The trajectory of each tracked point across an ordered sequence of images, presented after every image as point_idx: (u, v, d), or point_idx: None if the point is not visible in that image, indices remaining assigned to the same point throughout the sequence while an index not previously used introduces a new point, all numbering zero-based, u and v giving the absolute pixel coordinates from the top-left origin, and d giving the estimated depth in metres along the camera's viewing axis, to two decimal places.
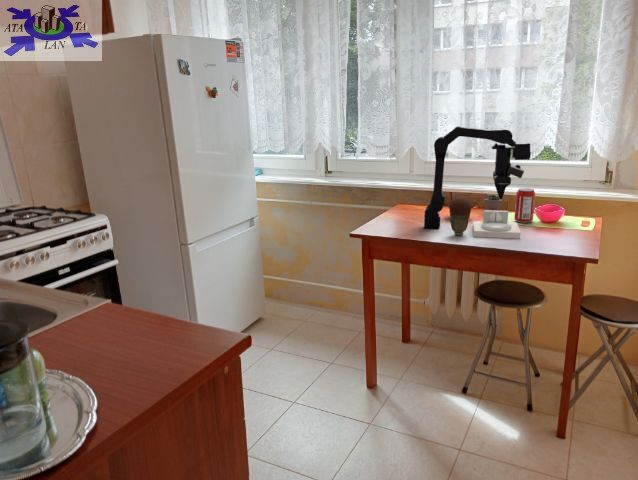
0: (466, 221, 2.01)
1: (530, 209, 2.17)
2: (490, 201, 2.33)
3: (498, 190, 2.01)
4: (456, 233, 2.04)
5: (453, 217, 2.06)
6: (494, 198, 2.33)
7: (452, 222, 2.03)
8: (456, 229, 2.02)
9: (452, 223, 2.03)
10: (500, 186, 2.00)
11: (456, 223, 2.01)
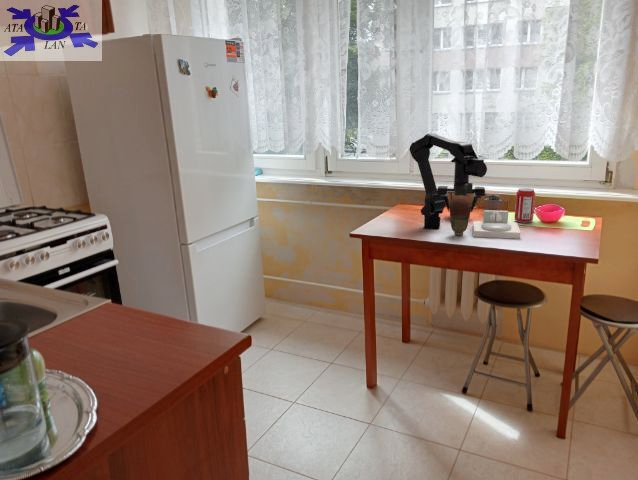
0: (466, 221, 2.01)
1: (530, 209, 2.17)
2: (490, 201, 2.33)
3: None
4: (456, 233, 2.04)
5: (453, 217, 2.06)
6: (494, 198, 2.33)
7: (452, 222, 2.03)
8: (456, 229, 2.02)
9: (452, 223, 2.03)
10: None
11: (456, 223, 2.01)
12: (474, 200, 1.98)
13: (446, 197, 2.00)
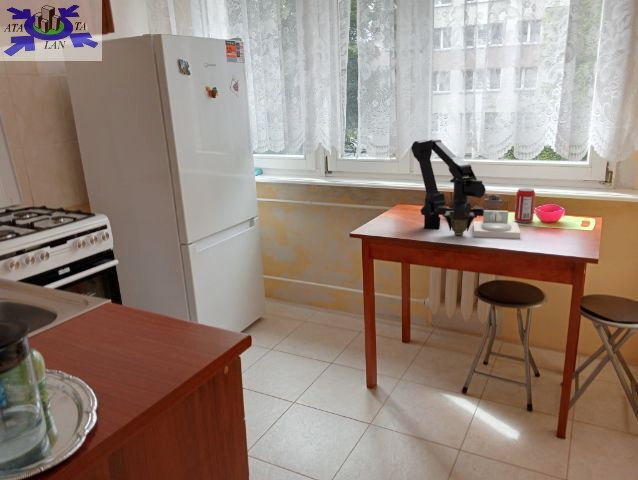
0: (466, 221, 2.01)
1: (530, 209, 2.17)
2: (490, 201, 2.33)
3: None
4: (456, 233, 2.04)
5: (453, 217, 2.06)
6: (494, 198, 2.33)
7: (452, 222, 2.03)
8: (456, 229, 2.02)
9: (452, 223, 2.03)
10: None
11: (456, 223, 2.01)
12: (470, 220, 2.01)
13: (448, 217, 2.02)
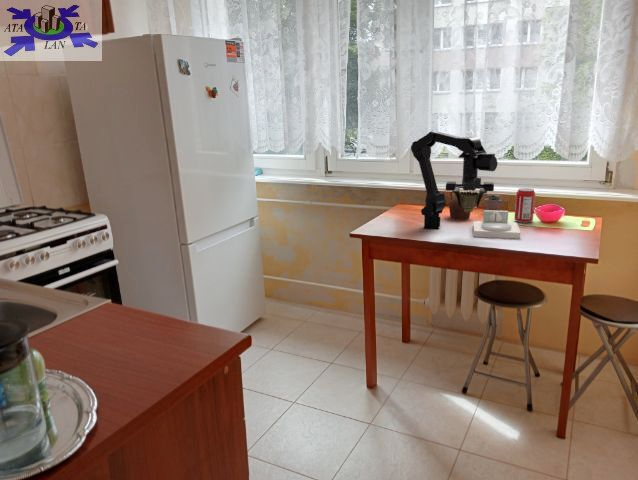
0: (476, 197, 1.98)
1: (530, 209, 2.17)
2: (490, 201, 2.33)
3: None
4: (466, 209, 2.01)
5: (463, 193, 2.03)
6: (494, 198, 2.33)
7: (461, 198, 2.00)
8: (466, 205, 1.99)
9: (461, 199, 2.00)
10: None
11: (466, 199, 1.98)
12: (480, 195, 1.98)
13: (458, 192, 1.99)
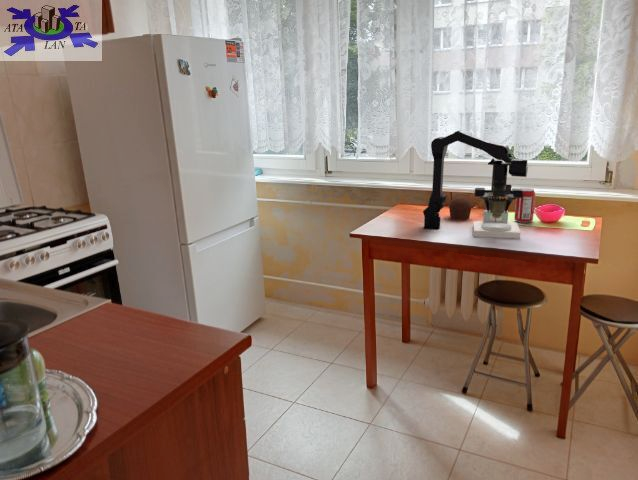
0: (505, 203, 2.00)
1: (530, 209, 2.17)
2: None
3: None
4: (494, 215, 2.03)
5: (491, 199, 2.05)
6: None
7: (490, 204, 2.01)
8: (494, 211, 2.01)
9: (490, 205, 2.02)
10: None
11: (495, 205, 2.00)
12: (509, 201, 2.00)
13: (487, 198, 2.01)
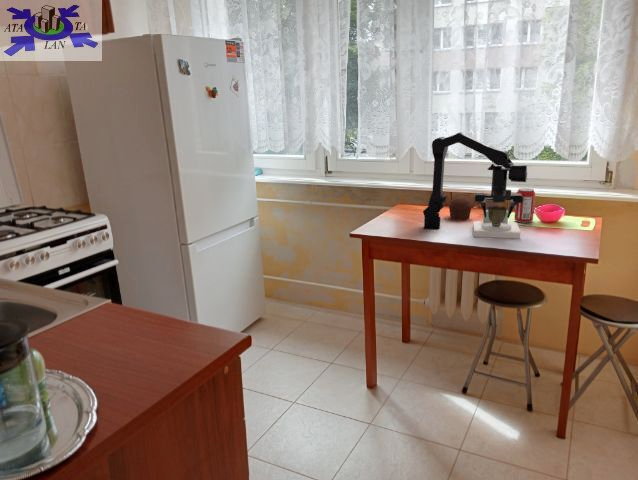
0: (504, 211, 2.01)
1: (530, 209, 2.17)
2: (490, 201, 2.33)
3: None
4: (494, 223, 2.04)
5: (490, 208, 2.06)
6: None
7: (490, 212, 2.02)
8: (494, 219, 2.02)
9: (490, 213, 2.03)
10: None
11: (494, 213, 2.01)
12: (511, 207, 2.00)
13: (484, 204, 2.02)
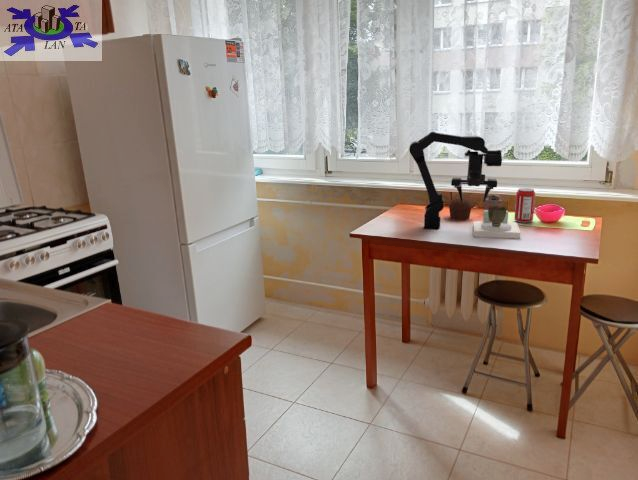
0: (504, 211, 2.01)
1: (530, 209, 2.17)
2: (490, 201, 2.33)
3: None
4: (494, 224, 2.04)
5: (490, 208, 2.06)
6: (494, 198, 2.33)
7: (490, 213, 2.02)
8: (494, 220, 2.02)
9: (490, 214, 2.03)
10: None
11: (494, 213, 2.01)
12: (486, 191, 2.08)
13: (460, 188, 2.10)
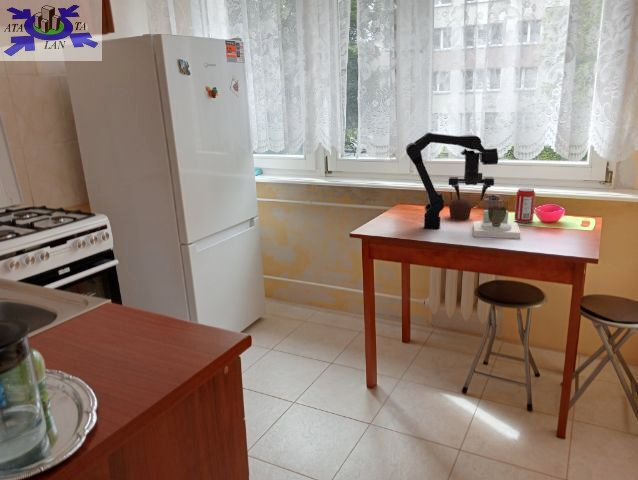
0: (504, 211, 2.01)
1: (530, 209, 2.17)
2: (490, 201, 2.33)
3: None
4: (494, 224, 2.04)
5: (490, 208, 2.06)
6: (494, 198, 2.33)
7: (490, 213, 2.02)
8: (494, 220, 2.02)
9: (490, 214, 2.03)
10: None
11: (494, 213, 2.01)
12: (484, 189, 2.09)
13: (457, 187, 2.11)
